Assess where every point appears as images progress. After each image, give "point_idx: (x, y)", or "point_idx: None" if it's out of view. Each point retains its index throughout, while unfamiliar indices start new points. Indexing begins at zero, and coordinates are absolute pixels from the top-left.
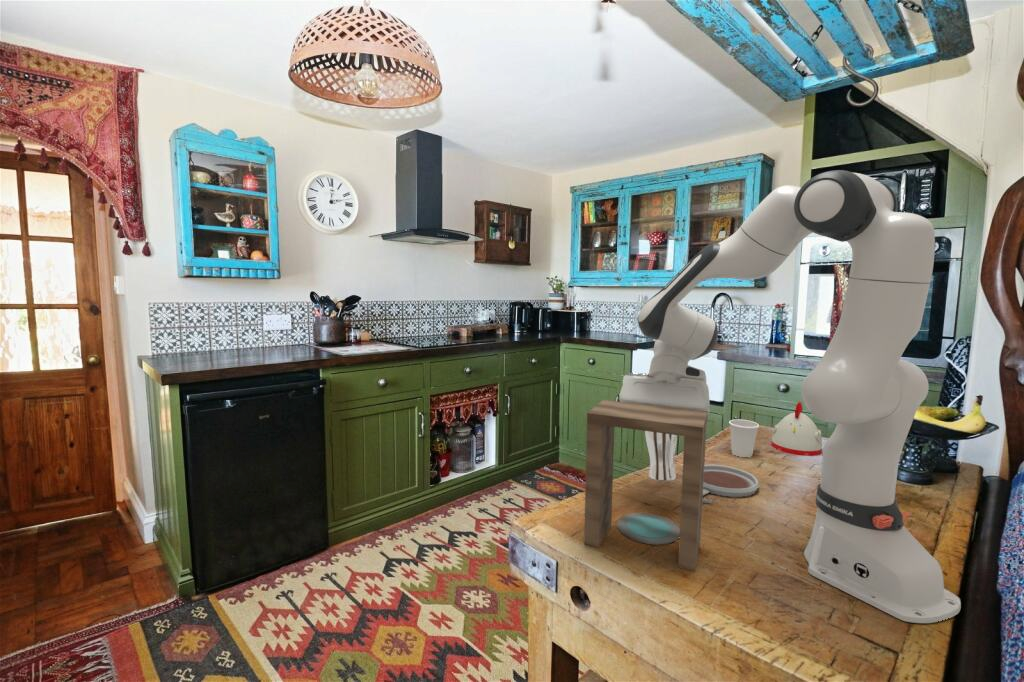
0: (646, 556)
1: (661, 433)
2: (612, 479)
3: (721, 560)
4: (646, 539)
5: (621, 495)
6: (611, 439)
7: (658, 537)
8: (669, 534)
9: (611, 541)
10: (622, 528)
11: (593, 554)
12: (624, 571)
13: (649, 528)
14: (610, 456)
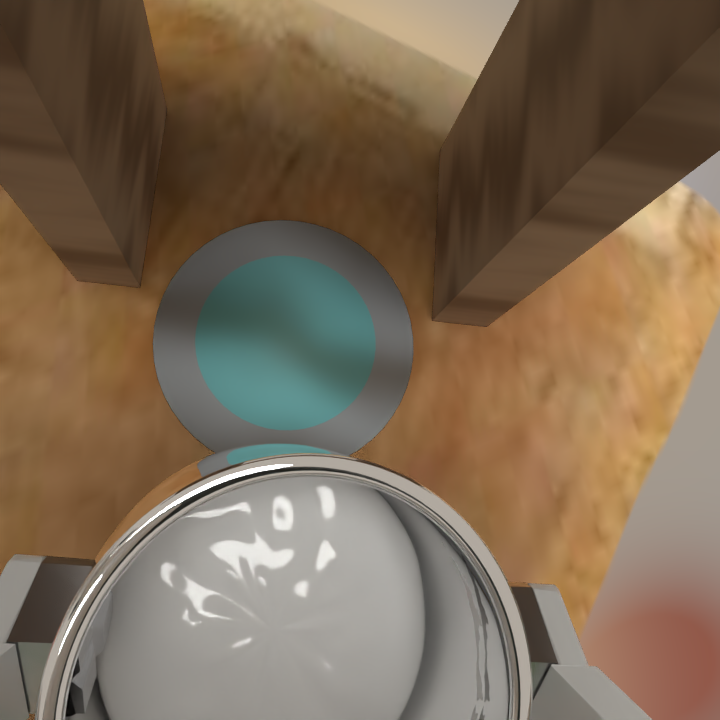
0: (276, 144)
1: (256, 444)
2: (505, 240)
3: (3, 195)
4: (286, 241)
5: None
6: (650, 13)
7: (241, 267)
8: (199, 309)
9: (407, 203)
10: (385, 296)
11: (445, 108)
12: (335, 46)
13: (282, 327)
14: (580, 89)
